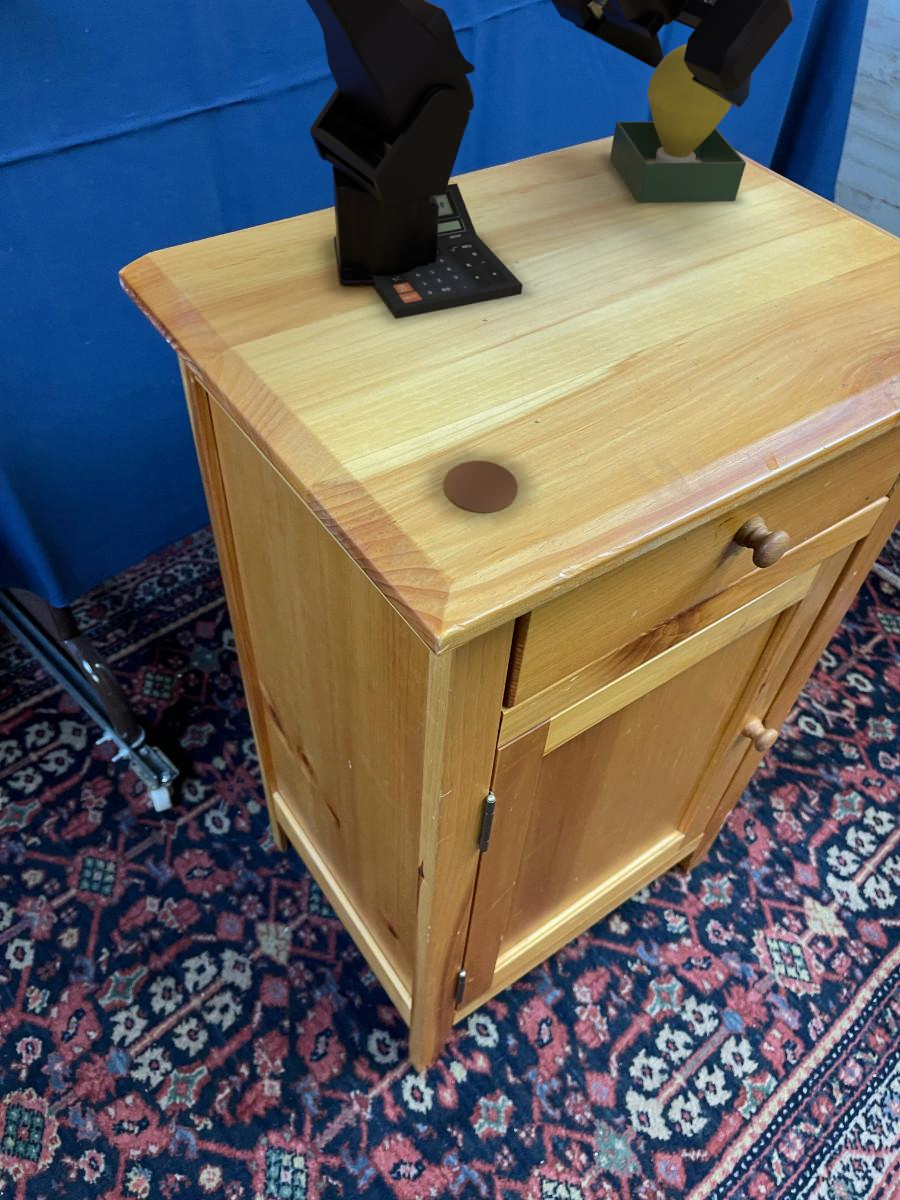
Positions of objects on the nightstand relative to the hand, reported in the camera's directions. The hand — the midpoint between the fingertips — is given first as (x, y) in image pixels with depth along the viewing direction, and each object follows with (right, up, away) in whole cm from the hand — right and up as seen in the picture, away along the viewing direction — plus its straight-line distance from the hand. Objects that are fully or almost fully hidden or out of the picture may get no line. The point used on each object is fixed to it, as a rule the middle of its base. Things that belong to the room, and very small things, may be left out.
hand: (699, 81), depth 68 cm
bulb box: (-1, -5, +5) cm, 7 cm away
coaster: (-18, -35, -21) cm, 44 cm away
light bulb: (-1, -5, +5) cm, 8 cm away
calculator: (-21, -17, -6) cm, 28 cm away
